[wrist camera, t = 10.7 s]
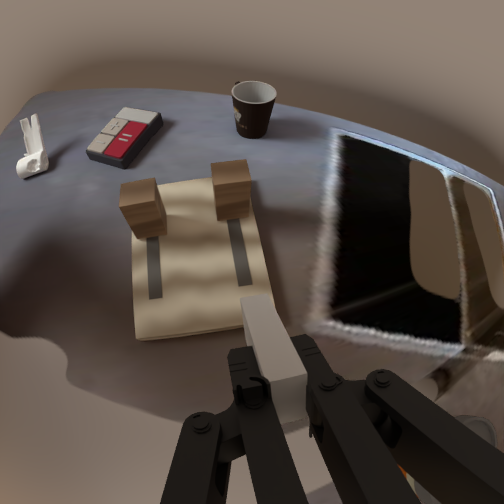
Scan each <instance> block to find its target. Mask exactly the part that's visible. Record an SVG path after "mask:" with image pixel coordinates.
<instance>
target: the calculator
mask: <svg viewBox="0 0 504 504" xmlns="http://www.w3.org/2000/svg"><path fill="white" fill-rule="evenodd" d="M162 125H163V121H162V117H161V113H158V112H152V111H147V110H141V109H135V108H128V107H124V108H123V109H122V110H121V111H120V112H119V113H118V114H117V115H116V116H115V117H114V118H113V119H112V120H111V121H110V122H109V123H108V124H107V126H106V127H105V128H104V129H103V130H102V132H101V133H100V134H99V135H98V136H97V137H96V138H95V139H94V141H93V142H92V143H91V144H90V145H89V147H88V148H87V150H86V153H87V155H88V157H89V159H90V160H94V161H97V162H101V163H104V164H107V165H111V166H114V167H118V168H121V169H126V168H127V167H128V166H129V164H130V163H131V162H132V161H133V159H134V158H135V157H136V156H137V155H138V153H139V152H140V151H141V150H142V148H143V147H144V146H145V144H146V143H147V142H148V141H149V139H150V138H151V137H152V136H153V135H154V134H155V133H156V132H157V131H158V130H159V129H160V128H161V126H162Z"/></svg>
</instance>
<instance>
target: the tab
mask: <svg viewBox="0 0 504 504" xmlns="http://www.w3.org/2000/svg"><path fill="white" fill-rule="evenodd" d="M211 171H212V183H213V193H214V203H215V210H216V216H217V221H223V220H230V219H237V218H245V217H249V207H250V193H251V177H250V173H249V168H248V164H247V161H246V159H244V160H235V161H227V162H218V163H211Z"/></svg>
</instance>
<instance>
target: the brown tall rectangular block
mask: <svg viewBox="0 0 504 504" xmlns="http://www.w3.org/2000/svg"><path fill="white" fill-rule="evenodd" d="M119 208H120V210H121V212H122V213H123V215H124V217H125V219H126V221H127V222H128V224H129V226H130V228H131V230H132V231H133V233H134V235H135V237H136V238H137V239H143V238H149V237H155V236H161V235H167V215H166V211H165V208H164V205H163V202H162V199H161V196H160V193H159V190H158V187H157V184H156V181H155V178H150V179H144V180H139V181H134V182H129V183H124V184H121V189H120V200H119Z"/></svg>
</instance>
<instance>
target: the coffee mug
mask: <svg viewBox="0 0 504 504" xmlns="http://www.w3.org/2000/svg"><path fill="white" fill-rule="evenodd" d="M276 94H277V93H276V90H275V89H274V88H273V87H272V86H271V85H268V84H266V83H263V82H259V81H246V82H242V83H240V82H236V83H235V86H234V87H233V89H232V99H233V106H234V114H235V121H236V128H237V132H238V133H239V134H240V135H241V136H242V137H245V138H249V139H256V138H260V137H262V136H264V135H265V133H266V131H267V127H268V123H269V120H270V116H271V112H272V109H273V105H274V102H275V98H276Z"/></svg>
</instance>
